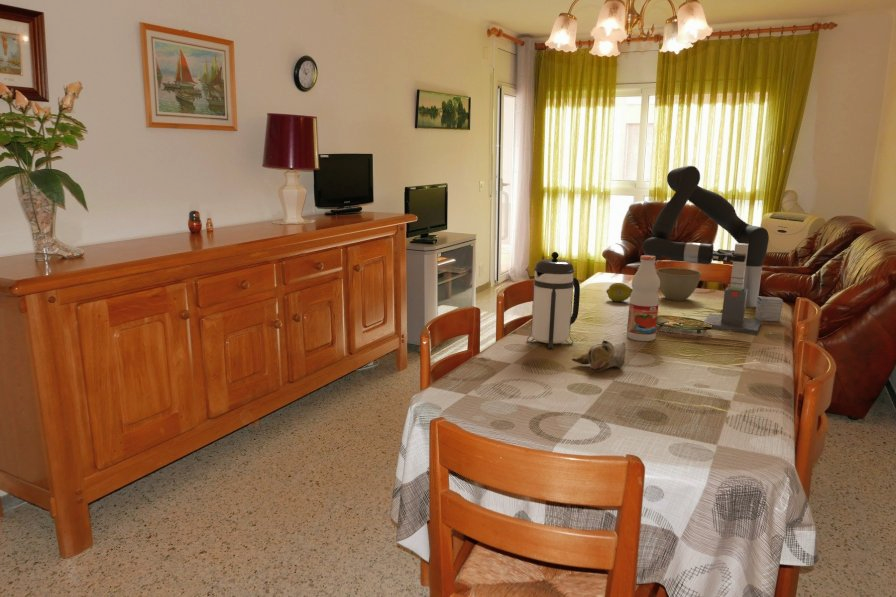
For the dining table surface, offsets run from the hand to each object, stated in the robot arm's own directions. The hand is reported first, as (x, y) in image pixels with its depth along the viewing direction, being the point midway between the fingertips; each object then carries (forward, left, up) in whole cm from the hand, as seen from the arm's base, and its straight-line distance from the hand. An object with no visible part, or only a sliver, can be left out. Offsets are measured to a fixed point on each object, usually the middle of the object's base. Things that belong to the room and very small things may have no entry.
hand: (746, 257), depth 233 cm
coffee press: (-4, -77, -26) cm, 81 cm away
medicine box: (-4, +19, -26) cm, 32 cm away
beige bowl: (-45, +11, -26) cm, 53 cm away
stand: (-2, -1, -26) cm, 26 cm away
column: (-2, -1, -17) cm, 17 cm away
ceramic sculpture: (+24, -77, -26) cm, 85 cm away
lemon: (-48, -17, -26) cm, 57 cm away
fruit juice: (+1, -45, -26) cm, 52 cm away
